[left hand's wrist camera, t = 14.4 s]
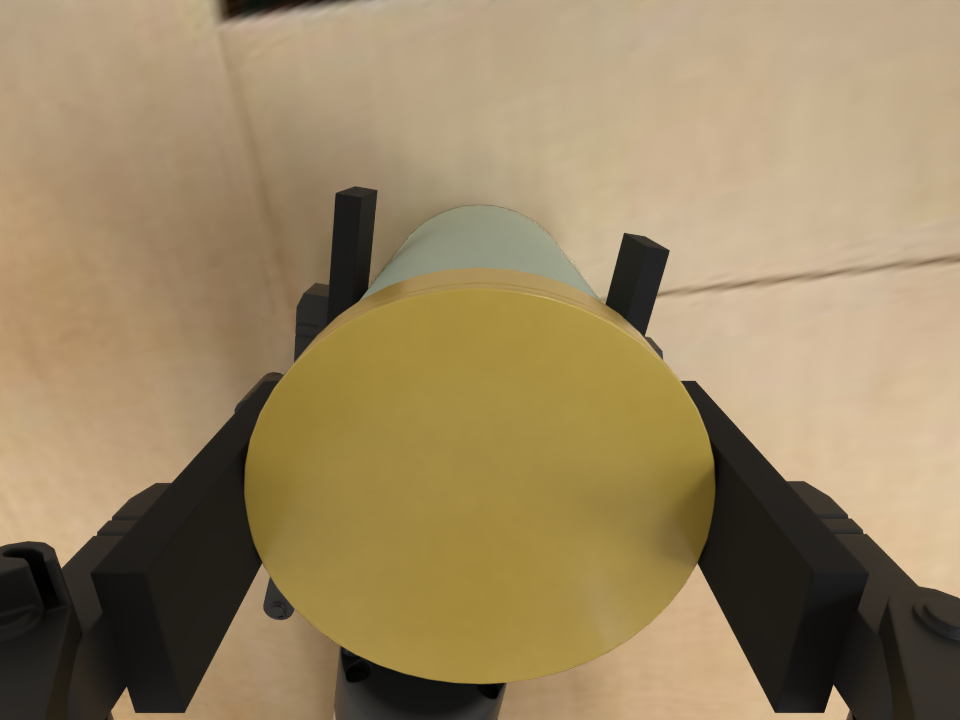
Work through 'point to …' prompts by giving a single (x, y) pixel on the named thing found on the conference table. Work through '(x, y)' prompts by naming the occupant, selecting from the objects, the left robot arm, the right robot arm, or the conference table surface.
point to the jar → (480, 248)
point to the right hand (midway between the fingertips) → (503, 217)
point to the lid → (479, 478)
